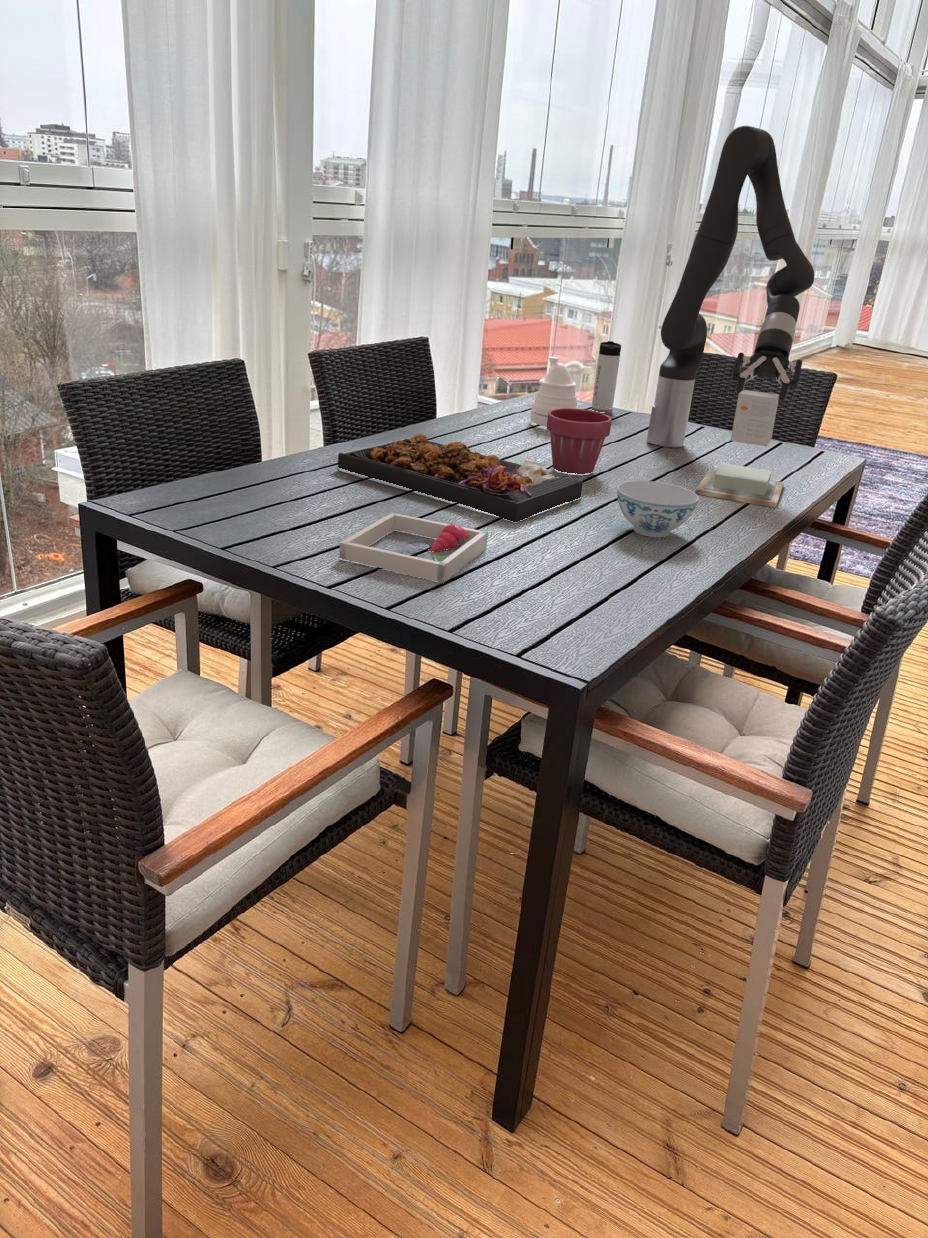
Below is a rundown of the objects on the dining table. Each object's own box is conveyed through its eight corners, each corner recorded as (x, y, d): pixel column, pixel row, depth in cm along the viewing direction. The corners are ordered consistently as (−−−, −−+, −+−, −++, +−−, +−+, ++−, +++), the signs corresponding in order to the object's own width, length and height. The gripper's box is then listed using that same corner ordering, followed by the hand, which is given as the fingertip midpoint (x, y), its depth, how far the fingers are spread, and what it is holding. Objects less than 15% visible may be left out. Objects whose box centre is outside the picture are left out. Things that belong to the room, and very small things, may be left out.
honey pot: (527, 427, 254) (534, 358, 247) (532, 418, 266) (539, 352, 259) (575, 433, 253) (584, 364, 246) (577, 423, 265) (586, 357, 257)
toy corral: (339, 560, 152) (339, 542, 150) (391, 528, 168) (392, 512, 167) (442, 583, 146) (444, 565, 145) (486, 548, 162) (487, 532, 161)
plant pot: (574, 482, 207) (581, 423, 202) (528, 466, 216) (535, 410, 211) (616, 474, 216) (625, 418, 211) (571, 460, 225) (578, 405, 220)
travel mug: (611, 410, 286) (621, 341, 278) (612, 414, 280) (622, 344, 272) (590, 408, 287) (599, 339, 279) (591, 412, 281) (600, 342, 273)
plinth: (712, 487, 209) (715, 474, 207) (720, 475, 219) (722, 462, 218) (763, 496, 205) (766, 482, 204) (769, 483, 215) (771, 470, 214)
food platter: (580, 501, 196) (587, 452, 192) (515, 526, 177) (521, 472, 173) (411, 455, 219) (413, 410, 215) (337, 473, 200) (339, 424, 196)
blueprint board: (695, 493, 206) (696, 488, 206) (708, 473, 224) (709, 468, 223) (775, 507, 201) (776, 502, 201) (783, 486, 218) (784, 481, 218)
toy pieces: (418, 537, 166) (420, 513, 164) (476, 551, 162) (478, 526, 160) (383, 555, 156) (384, 530, 154) (443, 571, 152) (445, 545, 150)
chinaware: (674, 551, 170) (682, 509, 166) (598, 531, 176) (604, 491, 173) (702, 531, 181) (709, 492, 178) (629, 514, 188) (635, 476, 185)
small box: (770, 442, 209) (780, 394, 205) (766, 447, 204) (777, 397, 200) (734, 436, 212) (743, 388, 208) (729, 441, 207) (738, 392, 203)
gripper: (743, 323, 210) (727, 382, 205) (810, 330, 206) (795, 391, 201) (742, 345, 217) (726, 403, 212) (806, 353, 213) (792, 412, 207)
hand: (760, 397), depth 206 cm, fingers closed on small box, 8 cm apart
